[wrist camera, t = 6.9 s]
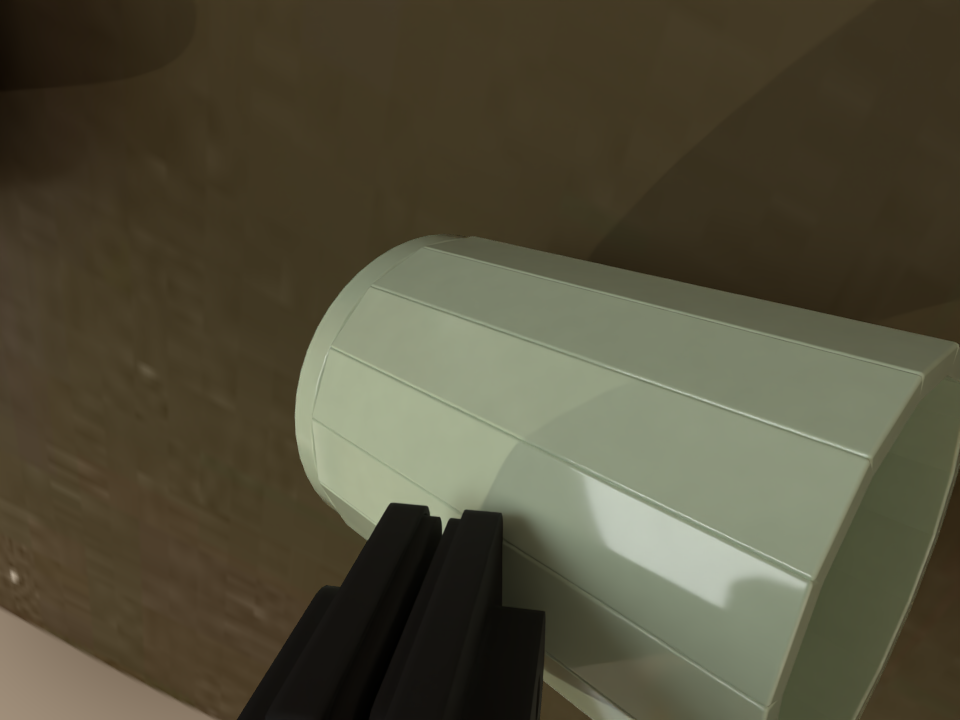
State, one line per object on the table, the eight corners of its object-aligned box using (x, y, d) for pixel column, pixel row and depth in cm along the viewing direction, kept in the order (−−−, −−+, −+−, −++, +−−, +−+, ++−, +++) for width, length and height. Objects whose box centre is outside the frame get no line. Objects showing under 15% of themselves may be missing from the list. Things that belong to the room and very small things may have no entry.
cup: (311, 576, 15) (714, 959, 9) (272, 263, 13) (819, 466, 6) (529, 461, 20) (903, 653, 13) (535, 213, 17) (1012, 296, 11)
